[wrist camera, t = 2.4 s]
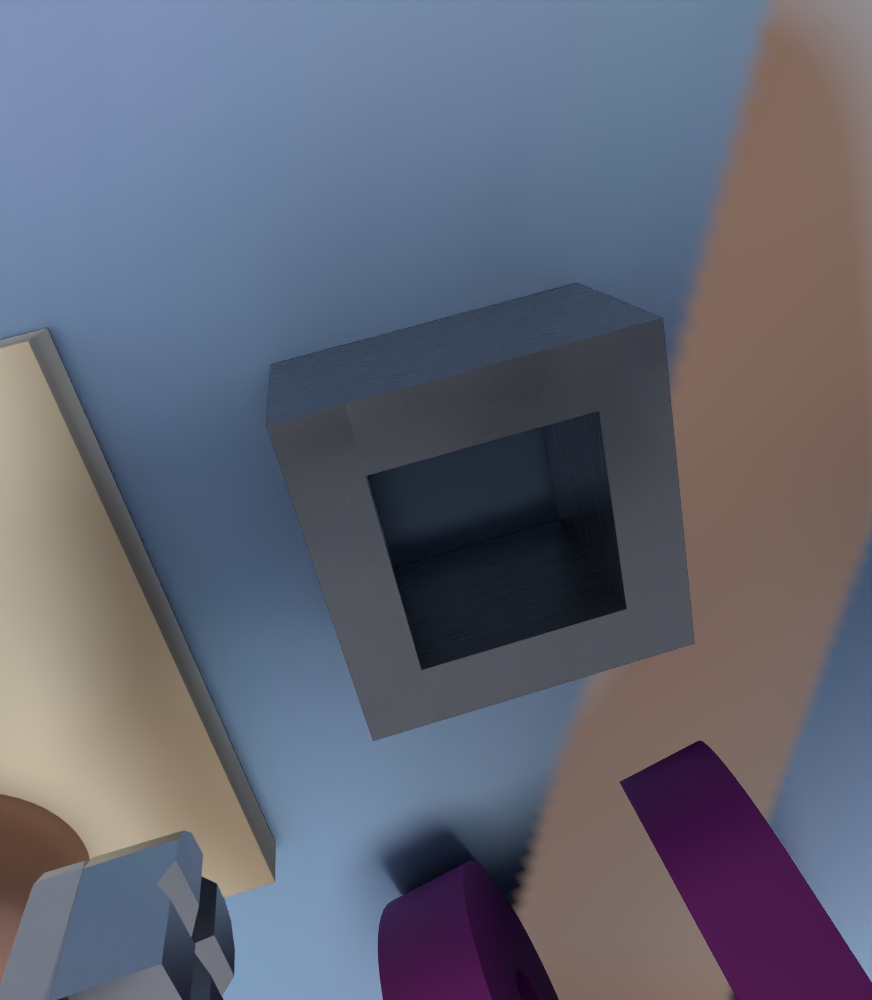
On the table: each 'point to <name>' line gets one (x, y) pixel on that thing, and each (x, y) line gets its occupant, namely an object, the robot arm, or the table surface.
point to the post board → (96, 666)
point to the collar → (505, 560)
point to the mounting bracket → (697, 875)
